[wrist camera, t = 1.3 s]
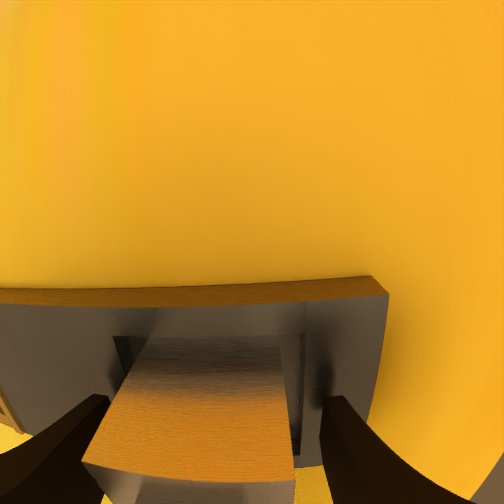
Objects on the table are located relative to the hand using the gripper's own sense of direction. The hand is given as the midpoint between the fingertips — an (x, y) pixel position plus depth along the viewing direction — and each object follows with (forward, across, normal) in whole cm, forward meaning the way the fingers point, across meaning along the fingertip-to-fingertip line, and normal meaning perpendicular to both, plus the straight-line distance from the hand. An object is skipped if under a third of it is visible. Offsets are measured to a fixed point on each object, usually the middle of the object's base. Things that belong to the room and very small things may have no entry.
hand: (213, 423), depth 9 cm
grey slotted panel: (+2, +8, 0) cm, 8 cm away
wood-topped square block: (+2, 0, 0) cm, 2 cm away
